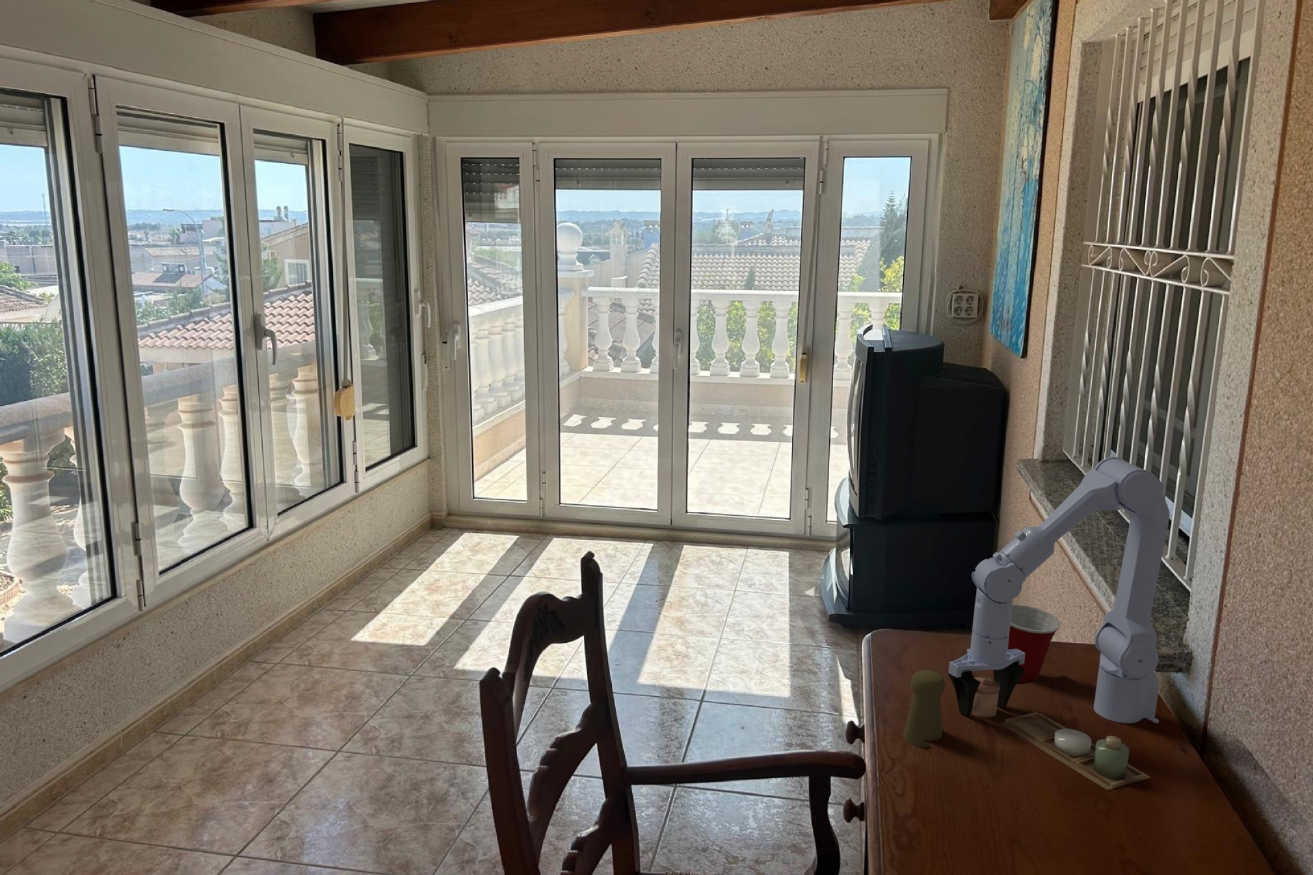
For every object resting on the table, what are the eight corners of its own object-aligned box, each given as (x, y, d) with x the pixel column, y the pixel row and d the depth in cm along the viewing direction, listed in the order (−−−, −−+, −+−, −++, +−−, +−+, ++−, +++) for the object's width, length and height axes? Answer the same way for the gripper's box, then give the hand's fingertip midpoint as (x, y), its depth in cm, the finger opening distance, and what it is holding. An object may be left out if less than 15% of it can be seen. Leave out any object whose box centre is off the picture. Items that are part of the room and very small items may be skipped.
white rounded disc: (1070, 737, 155) (1072, 726, 155) (1097, 753, 151) (1099, 741, 150) (1046, 743, 153) (1047, 732, 153) (1072, 760, 149) (1074, 748, 148)
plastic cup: (1024, 695, 172) (1032, 631, 170) (977, 671, 181) (984, 609, 179) (1066, 683, 177) (1074, 621, 175) (1018, 660, 187) (1025, 600, 184)
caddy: (1040, 720, 163) (1041, 710, 163) (1149, 784, 145) (1151, 773, 144) (999, 729, 160) (1000, 720, 159) (1106, 797, 141) (1107, 786, 141)
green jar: (1107, 761, 149) (1111, 729, 148) (1132, 775, 145) (1136, 743, 144) (1086, 766, 147) (1090, 734, 146) (1111, 781, 143) (1115, 749, 142)
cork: (944, 750, 153) (950, 684, 150) (904, 745, 154) (909, 679, 152) (941, 731, 158) (947, 667, 156) (902, 726, 160) (908, 663, 157)
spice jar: (982, 708, 167) (986, 670, 166) (1002, 720, 163) (1007, 682, 161) (960, 713, 165) (964, 674, 164) (980, 726, 161) (984, 686, 159)
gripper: (1006, 617, 167) (997, 691, 170) (939, 629, 161) (931, 705, 164) (1037, 632, 161) (1028, 709, 164) (969, 645, 155) (961, 725, 158)
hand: (982, 709), depth 164 cm, fingers open, 7 cm apart
